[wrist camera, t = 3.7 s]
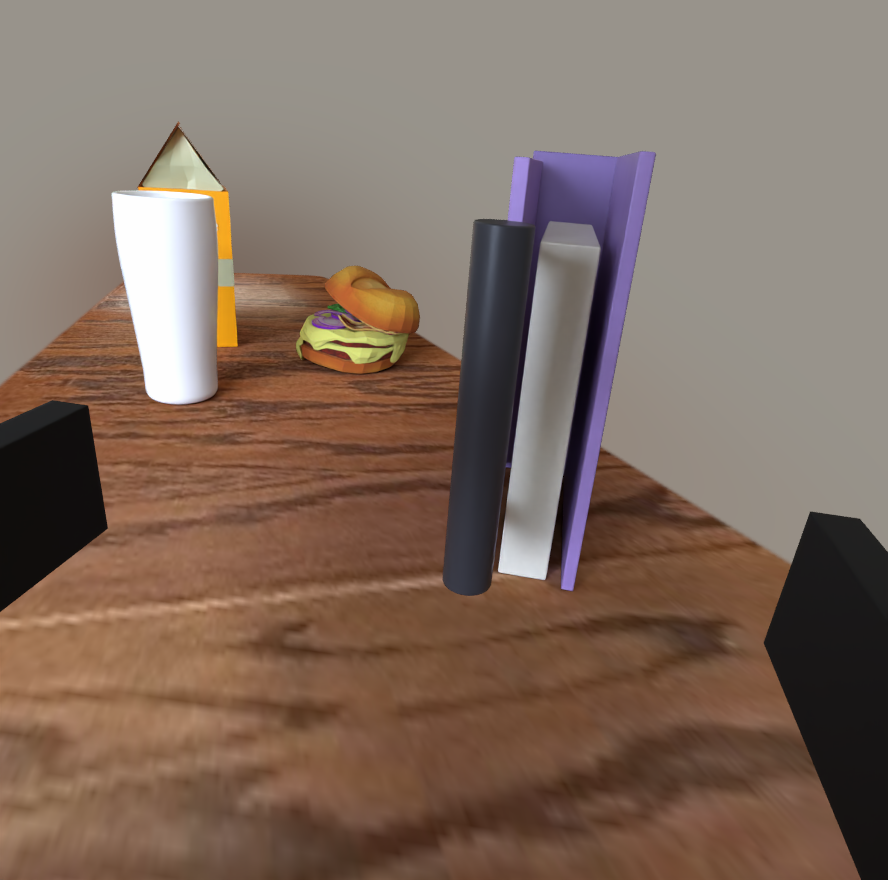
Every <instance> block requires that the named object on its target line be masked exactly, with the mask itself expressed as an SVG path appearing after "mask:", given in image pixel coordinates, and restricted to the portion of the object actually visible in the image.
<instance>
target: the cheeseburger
mask: <svg viewBox="0 0 888 880" xmlns="http://www.w3.org/2000/svg"><path fill="white" fill-rule="evenodd" d="M325 288H326V290H327V291H328V293H329V294H330V295H331V296H332V297H333V298H334V299H335V300H336V302H337V303H338V304H334V305H331V306H328V308H329V309H332V310H323V311H318V312H316V313H315V314H313V315H310V316H308V317H307V319H306V321H305V323H304V325H303V327H302V329H301V331H300V338H299V339H298V340H297V342H296V351H297V353H298V354H299V356H300V358H301V359H302V360H303V359H305V358H306V359H307V360H309V361H311V362H313V363H315V364H318V365H321V366H324V367H327V368H330V369H333V370H337V371H340V372H345V373H355V374H365V373H373V372H378V371H380V370H383V369H386V368H389V367H391V366H392V365H393V364H394V363H395V362H396V361H397V360H398V359H399V358H400V356H401V355H402V353H403V352H404V350H405V345H406V342H407V339H408V335H409V333H414V332H416V331H417V329H418V327H419V319H420V315H419V309H418V304H417V302H416V301H415V299H414V298H413V296H412V295H411V294H410V293H408V292H407V291H403V290H395V289H391V288H390V287H389V286H388V285H387V284H386V282H385V281H384V280H383V279H382V278H381V277H380V276H379V275H377V274H376V273H374V272H372V271H370V270H368V269H366V268H363V267H360V266H349V267H346V268H344V269H343V270H341V271H339V272H338V273H336V274H334V275H333V276H332V277H331V278H330V279H329V280H328V281H327V282H326V284H325Z"/></svg>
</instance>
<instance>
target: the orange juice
mask: <svg viewBox="0 0 888 880" xmlns="http://www.w3.org/2000/svg"><path fill="white" fill-rule="evenodd" d="M179 124H180V123H179V122H178V123H177V125H176V126H175V128H174V129H173V131H172V133H171V134H170V136H169V137H168V139H167V141H166V142H165V144H164V145H163V147H162V149H161V150H160V152H159V153H158V155H157V157H156V158H155V160H154V162H153V163H152V165H151V166H150V168H149V170H148V171H147V173H146V175H145V176H144V178H143V179H142V181H141V182H140V184H139V186H138V190H143V191H168V192H183V193H194V194H202V195H207V196H211V197H212V198H213V199H214V208H215V216H216V226H217V238H218V314H217V347H236V346H238V344H237V328H236V312H235V295H234V272H233V259H232V246H231V230H230V213H229V197H228V191H227V190H226V188H225V187H224V186H221V185H220V181H218V179H217V178H216V177H215V175H214V174H213V172H212V171H211V170H210V168H209V167H208V165H207V164H206V163H205V161H204V160H203V159H202V157H201V156H200V155H199V153H198V152H197V151H196V149H195V148H194V147H193V146H192V144H191V143H190V141H189V140H188V139H187V137H186V136H185V135H184V133H183V132H182V131H181V130H180V128H179V127H178V126H179ZM170 138H171V139H170ZM165 146H166V147H165ZM144 180H145V181H144Z"/></svg>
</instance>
